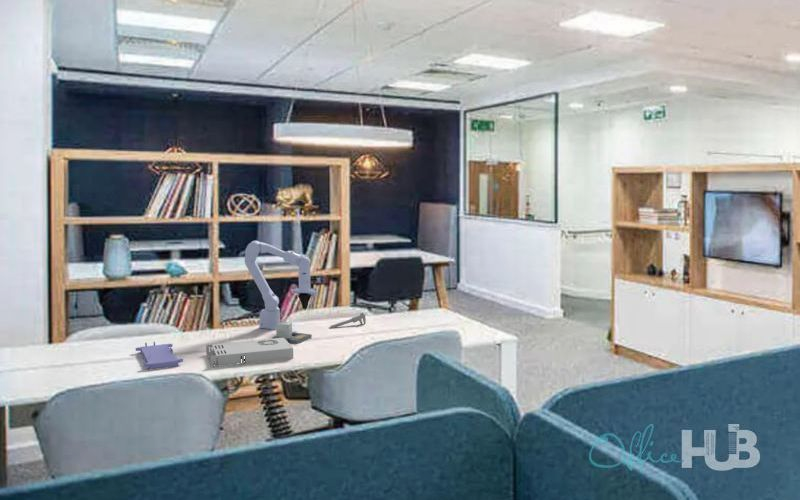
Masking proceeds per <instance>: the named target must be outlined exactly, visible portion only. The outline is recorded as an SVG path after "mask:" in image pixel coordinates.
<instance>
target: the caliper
mask: <svg viewBox="0 0 800 500" xmlns="http://www.w3.org/2000/svg"><path fill="white" fill-rule="evenodd" d="M359 314H360V315H356V316H354V317H352V318H350V319H346V320H343V321H340V322H338V323H334V324H331V325H330V326H329V327H328V329H335V328H338V327H342V326H344V325H347V324H350V323H353V324H354V323H357V322H359V323H360V325H363V324H366V314H364V312H360V313H359Z"/></svg>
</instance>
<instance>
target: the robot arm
mask: <svg viewBox="0 0 800 500" xmlns="http://www.w3.org/2000/svg"><path fill="white" fill-rule="evenodd" d="M265 253H268V254H271V255H274V256H277V257H278V258H279V257H280V258H282V260H283V262H285V263H286V264H287V263H288V264H290V265H292V266H295V267H298V271H299V272H298V288H292V289H291V292H290V293H291V294H297V297H298V298H299V301H300V303H301V307H302V310H303V309H304V310H305V309H308V306H309V302H310V299H311V297H312V295H313V296H318V295H319V291H318V290H314V289H311V267H310V266H311V260H310V258H309V257H307V256H306V255H305V256H304V255H303V254H298V253H296V252H294V250H292V249H291V250H287V251H284V250H282V249H280V248H277V246H276V247H275V246H273V245H271V244H269V243H266V242H262V241H259V240H256V239H255V240H252V241H251V242H249V243H248V244H247V246H246V248H245V252H244V254H245V255H244V264H245V266H246V268H247V270H248V272H249V273H250V275H251V277H252V279H253V281H254V283H255V284H256V287H257V289H258V290H259V292H260V294H261V297H262V299H263V300H262V301H263V302H264V307H265V308H263V309H261V310H260V313H259V326H258V328H260V329H266V330H267V329H268V330H276V324H277V323H279V322H281V320H280V319H281V318H280V317H281V316H280V311H281V309H280V308H279V304H280V299H279V296H277V294H275V293H274V292H273V290H272V289H271V288H270V286H269V284H268V282H267V280H266V278H265V276H264V275H263V272H262V271H261V269H260V267H259V265H258V263H257V262H256V261H257V259H258V255H259V254H265Z"/></svg>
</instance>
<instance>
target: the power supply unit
mask: <svg viewBox="0 0 800 500" xmlns="http://www.w3.org/2000/svg"><path fill="white" fill-rule="evenodd" d="M205 349H206V350H205V352H206V354H208V355H207V357H208V356H209V358H208V360H209V359H210V361H209V363H210V362H211V363H210V367H211V366H214V365H215V366H216V365H218V366H216V367H220V366H219V365H225V366H230V365H229V364H235V365H238V364H237V363H241V359H242V363H244V361H245V363H244V364H249V363H248V362H254V363H260V362H259V361H264V362H271V361H272V360H273V361H280V360H281V361H282V360H289V359H290V360H291V359H294V347H293V346H292V345H291V343H288V342H287V340H286V339H285V338H274V339H272V338H266V339H265V338H264V339H256V340H255V339H253V340H243V341H231V342H222V343H211V344H206V346H205ZM206 354H205V355H206ZM244 356H245V359H244ZM242 363H241V364H242ZM215 366H214V367H215Z"/></svg>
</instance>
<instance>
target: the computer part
mask: <svg viewBox="0 0 800 500" xmlns="http://www.w3.org/2000/svg"><path fill="white" fill-rule="evenodd" d="M144 345H145V346H139V347H135V351H136V352H139V351H140V354H141V353H142V354H141V356H142V355H143V356H142V357H144V358H143V360H144V359H145V360H144V362H145V361H146V362H145V363H142V366H143V368H146V367H147V368H148V367H149V368H148V369H153V370H157V369H156V368H161V369H166V367H168V368H174V367H175V366H176V367H179V363H183V362H184V358H178V357H176V355H175V354H174V350H173V348H172V347H173V343H164V344H163V343H162V344H156V341H153V345H148V344H147V342H145V343H144ZM176 367H175V368H176Z"/></svg>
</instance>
